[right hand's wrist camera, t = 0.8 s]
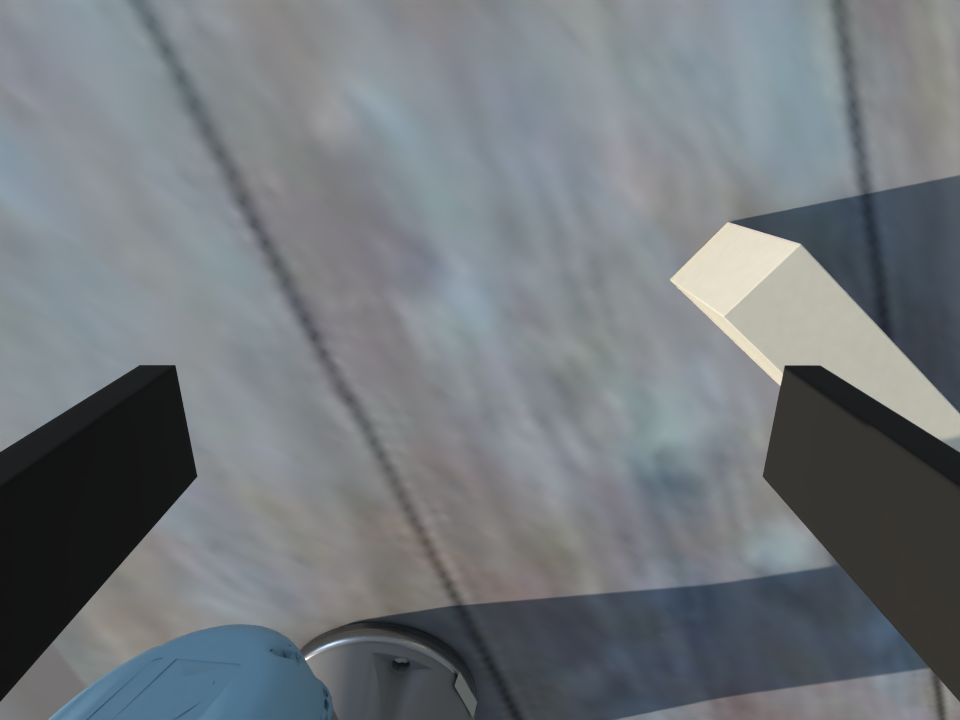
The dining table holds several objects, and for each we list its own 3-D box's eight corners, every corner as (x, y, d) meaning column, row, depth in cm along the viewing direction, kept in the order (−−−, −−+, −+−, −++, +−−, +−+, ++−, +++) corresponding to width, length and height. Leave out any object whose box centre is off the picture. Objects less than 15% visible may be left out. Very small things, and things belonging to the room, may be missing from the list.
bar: (669, 279, 34) (722, 316, 26) (727, 221, 32) (801, 243, 25) (955, 554, 40) (1061, 645, 33) (1011, 514, 39) (1135, 600, 32)
